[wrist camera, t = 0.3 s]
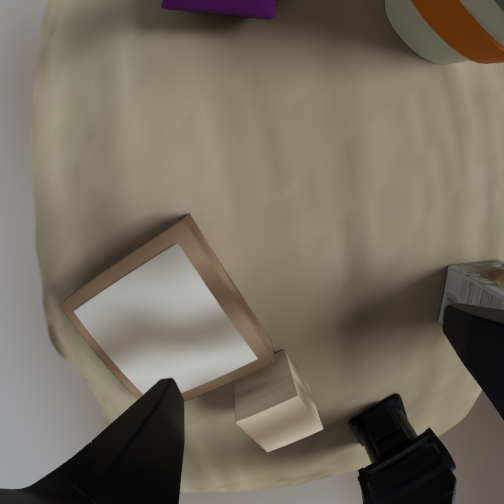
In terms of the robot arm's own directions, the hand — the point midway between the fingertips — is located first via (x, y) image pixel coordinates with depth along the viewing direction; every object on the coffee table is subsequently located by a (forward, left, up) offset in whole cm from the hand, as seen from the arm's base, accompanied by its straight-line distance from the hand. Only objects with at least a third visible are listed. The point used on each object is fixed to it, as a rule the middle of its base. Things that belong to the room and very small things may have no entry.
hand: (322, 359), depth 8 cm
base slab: (-1, +10, -14) cm, 17 cm away
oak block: (-11, +6, -14) cm, 19 cm away
